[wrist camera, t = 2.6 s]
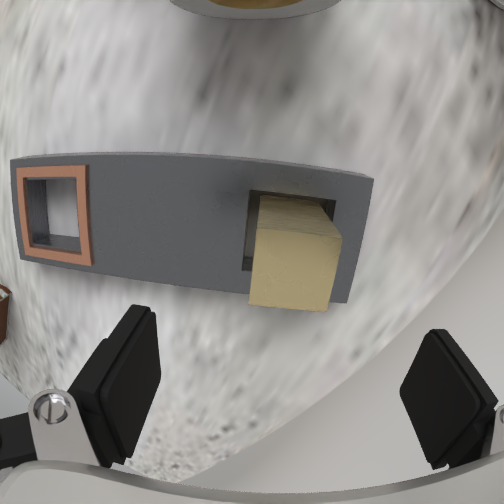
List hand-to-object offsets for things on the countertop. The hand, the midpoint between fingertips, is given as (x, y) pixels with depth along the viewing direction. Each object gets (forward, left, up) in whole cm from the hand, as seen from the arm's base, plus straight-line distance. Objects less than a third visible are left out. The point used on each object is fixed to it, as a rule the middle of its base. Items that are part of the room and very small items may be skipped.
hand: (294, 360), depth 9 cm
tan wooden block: (0, -1, -14) cm, 14 cm away
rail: (+9, -1, -14) cm, 16 cm away
